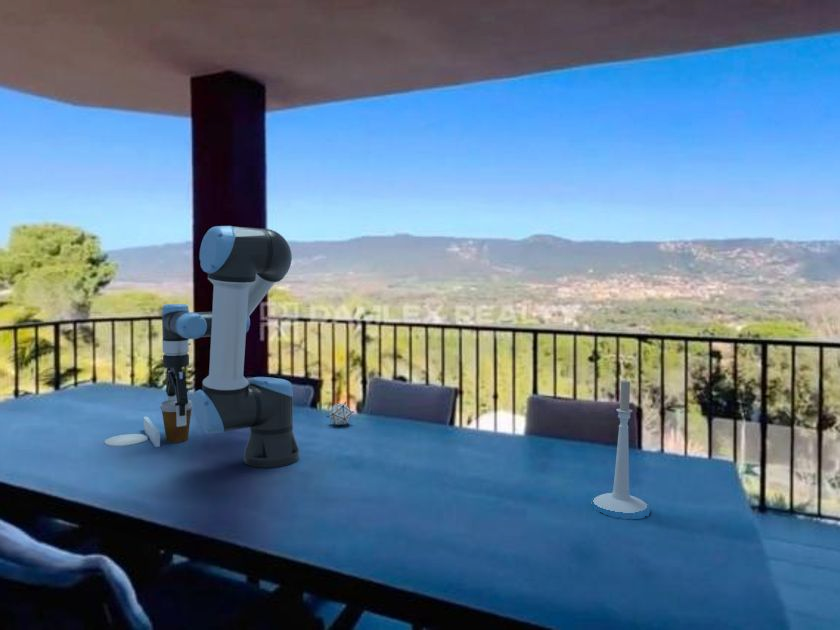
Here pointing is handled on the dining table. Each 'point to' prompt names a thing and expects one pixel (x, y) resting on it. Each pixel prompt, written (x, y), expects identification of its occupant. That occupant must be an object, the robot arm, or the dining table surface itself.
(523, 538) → the dining table surface
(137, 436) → the coaster
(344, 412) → the game die
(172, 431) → the disposable coffee cup
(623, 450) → the candlestick
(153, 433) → the wall
